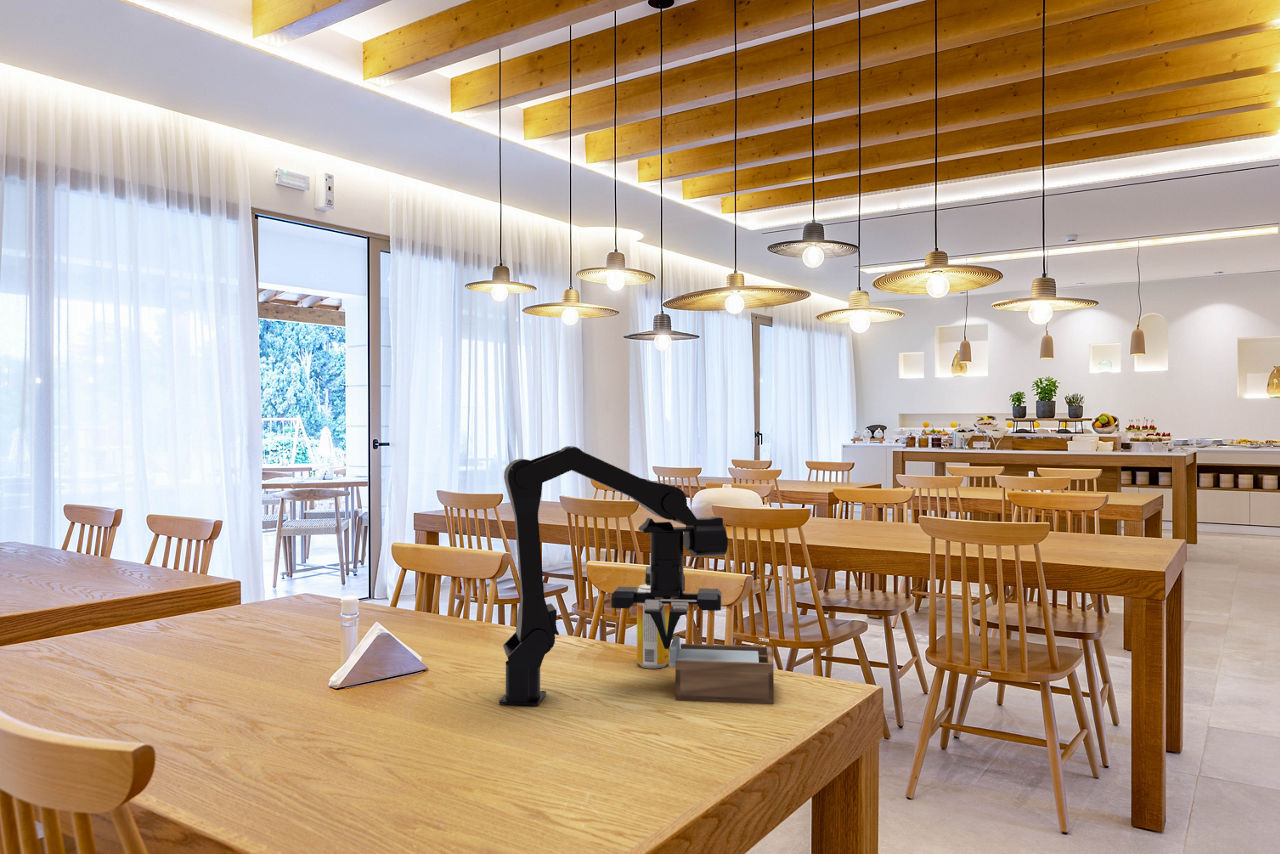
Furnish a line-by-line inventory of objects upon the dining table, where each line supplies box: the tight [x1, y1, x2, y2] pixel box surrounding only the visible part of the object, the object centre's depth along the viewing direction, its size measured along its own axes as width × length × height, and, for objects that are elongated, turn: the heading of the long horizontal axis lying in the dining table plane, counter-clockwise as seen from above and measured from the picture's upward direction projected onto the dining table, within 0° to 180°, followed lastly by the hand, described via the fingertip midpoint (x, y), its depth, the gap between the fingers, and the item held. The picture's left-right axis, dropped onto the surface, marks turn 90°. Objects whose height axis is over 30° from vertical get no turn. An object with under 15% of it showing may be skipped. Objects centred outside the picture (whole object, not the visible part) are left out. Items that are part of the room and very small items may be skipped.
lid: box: [668, 635, 759, 668], centre depth 145 cm, size 10×15×3 cm, turn 83°
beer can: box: [636, 583, 670, 670], centre depth 161 cm, size 6×6×15 cm
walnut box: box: [674, 643, 775, 705], centre depth 144 cm, size 12×16×6 cm
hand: (666, 648), depth 146 cm, fingers closed
